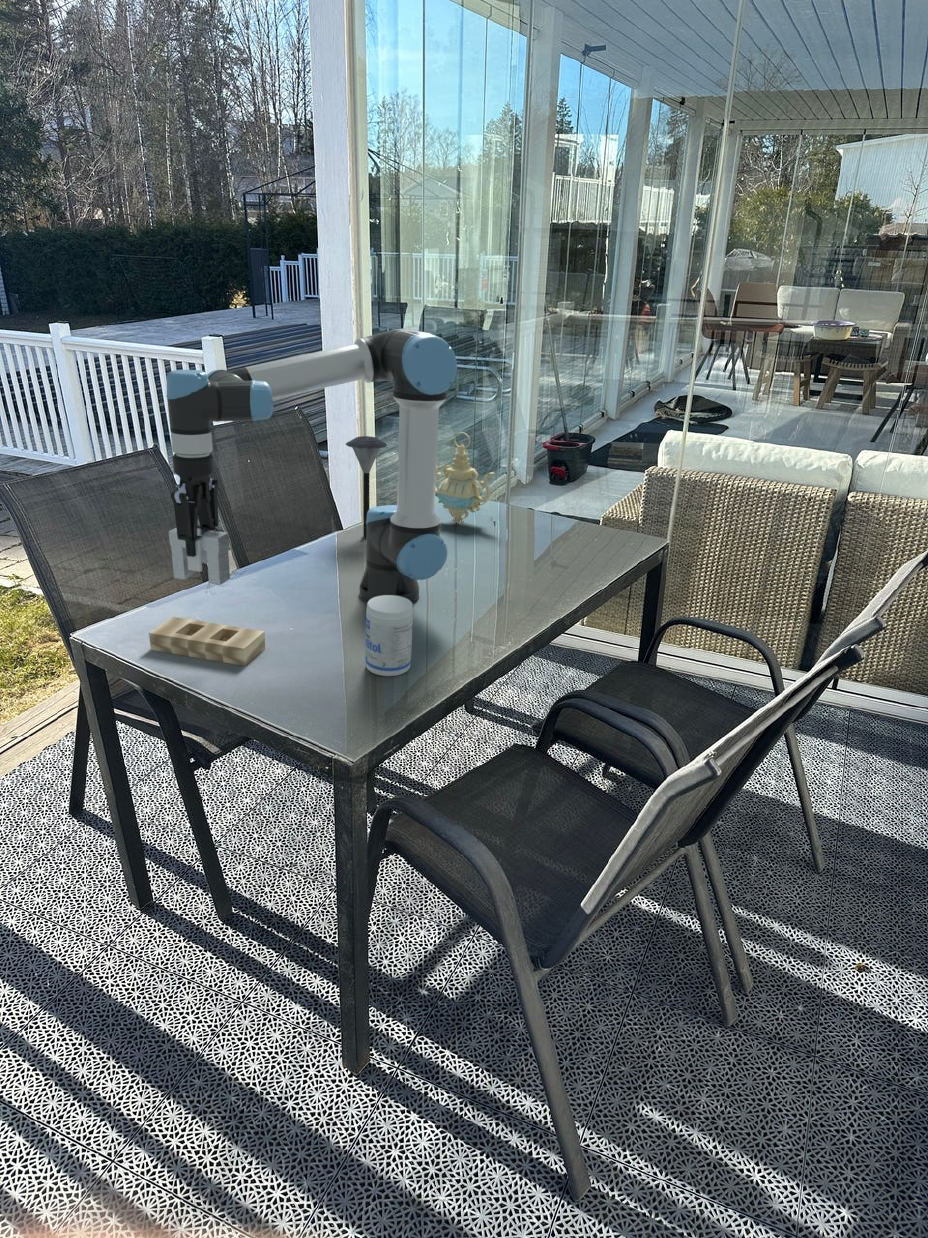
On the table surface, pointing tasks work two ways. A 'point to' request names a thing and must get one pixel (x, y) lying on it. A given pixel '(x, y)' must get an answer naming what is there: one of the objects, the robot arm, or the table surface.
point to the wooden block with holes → (207, 641)
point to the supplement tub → (388, 635)
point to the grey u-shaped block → (216, 555)
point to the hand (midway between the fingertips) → (201, 566)
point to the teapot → (461, 486)
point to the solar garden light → (366, 465)
